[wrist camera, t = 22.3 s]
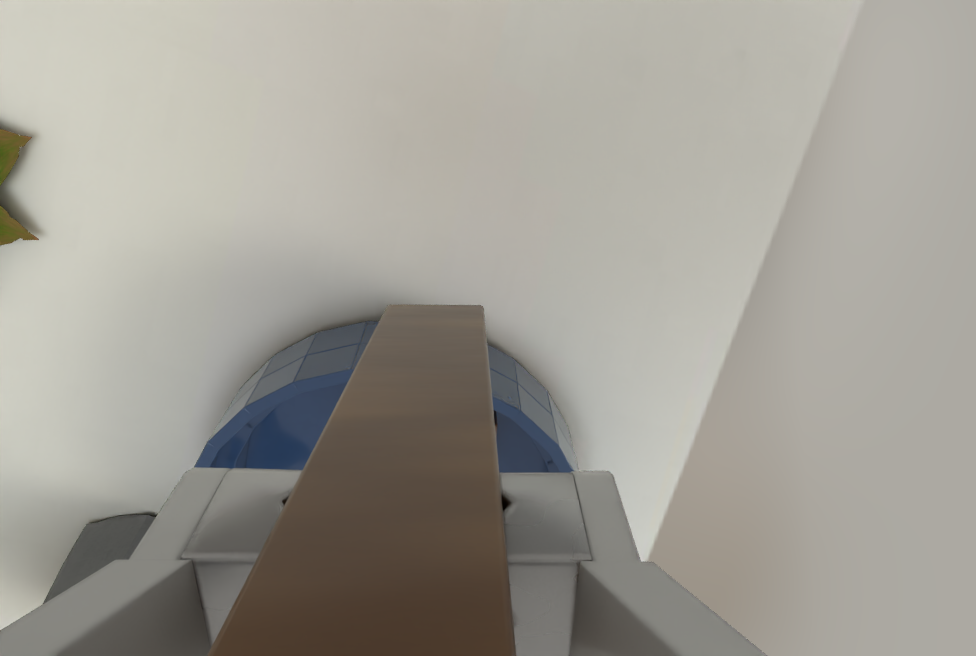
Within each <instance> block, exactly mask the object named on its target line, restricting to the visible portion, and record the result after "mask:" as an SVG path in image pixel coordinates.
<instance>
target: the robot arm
mask: <svg viewBox="0 0 976 656" xmlns="http://www.w3.org/2000/svg"><path fill="white" fill-rule="evenodd" d="M301 472H302V470H284V469H251V468H233V469H230V468H192V469H190V470H188V471H187V472H185V473H184V474H183V476H182V477H181V479H180V481H179V482H178V484H177V485H176V487H175V488H174V490H173V491H172V493H171V495H170V496H169V498H168V499H167V501H166V502H165V504H164V505H163V507H162V509H161V510H160V512H159V513H158V515H157V516H156V518H155V519H154V521H153V523H152V524H151V526H150V527H149V529H148V530H147V532H146V534H145V535H144V537H143V538H142V540H141V541H140V543H139V544H138V546H137V548H136V549H135V551H134V552H133V554H132V555H131V557H130V558H129V560H114V561H113V562H111V563H110V564H108V565H106V566H105V567H103V568H101V569H100V570H98V571H97V572H95V573H93V574H92V575H90V576H88V577H87V578H85V579H83V580H82V581H80V582H79V583H77V584H75V585H74V586H72V587H70V588H69V589H67V590H66V591H64V592H62V593H61V594H59V595H57V596H56V597H54V598H53V599H51V600H49V601H48V602H46V603H44V604H43V605H41V606H40V607H38V608H36V609H35V610H33V611H31V612H30V613H28V614H26V615H25V616H23V617H22V618H20V619H18V620H17V621H15V622H13V623H12V624H10V625H9V626H7V627H5V628H4V629H2V630H0V656H207V655H208V653H209V651H210V649H211V647H212V645H213V643H214V641H215V639H216V637H217V635H218V634H219V632H220V630H221V628H222V626H223V624H224V622H225V620H226V618H227V616H228V614H229V612H230V610H231V608H232V606H233V604H234V602H235V600H236V599H237V597H238V595H239V593H240V591H241V589H242V587H243V585H244V583H245V581H246V579H247V577H248V575H249V573H250V571H251V569H252V567H253V565H254V564H255V562H256V560H257V558H258V556H259V554H260V552H261V550H262V548H263V546H264V544H265V542H266V540H267V538H268V536H269V534H270V532H271V531H272V529H273V527H274V525H275V523H276V521H277V519H278V517H279V515H280V513H281V511H282V509H283V507H284V505H285V503H286V501H287V499H288V497H289V496H290V494H291V492H292V490H293V488H294V486H295V484H296V482H297V480H298V478H299V476H300V474H301ZM499 475H500V485H501V496H502V507H503V517H504V528H505V539H506V549H507V560H508V571H509V581H510V592H511V603H512V613H513V624H514V635H515V645H516V656H767V655H766V654H765V653H764V652H762V651H761V650H760V649H759V648H757V647H756V646H755V645H754V644H753V643H751V642H750V641H749V640H748V639H746V638H745V637H744V636H743V635H742V634H740V633H739V632H738V631H737V630H735V629H734V628H733V627H732V626H731V625H729V624H728V623H727V622H726V621H724V620H723V619H722V618H721V617H720V616H718V615H717V614H716V613H715V612H714V611H712V610H711V609H710V608H709V607H707V606H706V605H705V604H704V603H703V602H701V601H700V600H699V599H698V598H696V597H695V596H694V595H693V594H691V593H690V592H689V591H688V590H687V589H685V588H684V587H683V586H682V585H680V584H679V583H678V582H677V581H676V580H674V579H673V578H672V577H671V576H670V575H668V574H667V573H666V572H665V571H663V570H662V569H661V568H660V567H658V566H657V565H656V564H655V563H654V562H641V560H640V557H639V554H638V551H637V548H636V545H635V542H634V539H633V535H632V532H631V529H630V526H629V523H628V520H627V517H626V514H625V511H624V508H623V504H622V501H621V498H620V495H619V492H618V489H617V486H616V483H615V480H614V476H613V475H612V474H611V473H610V472H609V471H571V473H501V472H499Z"/></svg>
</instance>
